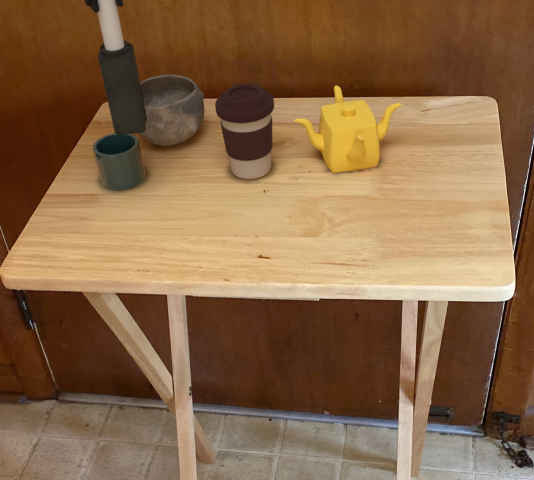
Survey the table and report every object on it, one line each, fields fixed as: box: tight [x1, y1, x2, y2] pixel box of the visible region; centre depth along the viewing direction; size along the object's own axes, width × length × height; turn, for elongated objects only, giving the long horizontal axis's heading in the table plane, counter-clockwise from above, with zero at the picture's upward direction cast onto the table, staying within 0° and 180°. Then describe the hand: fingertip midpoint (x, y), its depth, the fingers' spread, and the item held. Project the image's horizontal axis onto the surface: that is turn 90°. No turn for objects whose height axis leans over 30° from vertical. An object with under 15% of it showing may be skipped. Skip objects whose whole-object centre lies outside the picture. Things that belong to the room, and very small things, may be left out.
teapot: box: [293, 85, 402, 174], centre depth 144 cm, size 15×14×10 cm
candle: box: [97, 0, 147, 135], centre depth 123 cm, size 5×5×25 cm
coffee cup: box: [214, 82, 275, 180], centre depth 141 cm, size 10×10×15 cm
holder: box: [92, 132, 146, 191], centre depth 145 cm, size 8×8×7 cm
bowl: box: [137, 74, 205, 147], centre depth 154 cm, size 14×15×10 cm
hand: (106, 5), depth 119 cm, fingers closed on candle, 3 cm apart
